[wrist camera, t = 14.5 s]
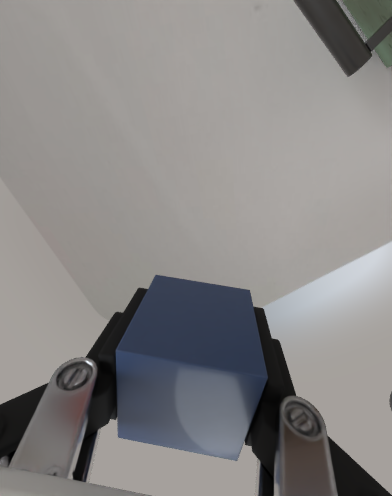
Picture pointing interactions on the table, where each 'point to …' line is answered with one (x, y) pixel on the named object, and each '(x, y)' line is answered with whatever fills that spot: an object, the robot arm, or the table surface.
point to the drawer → (352, 30)
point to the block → (190, 368)
